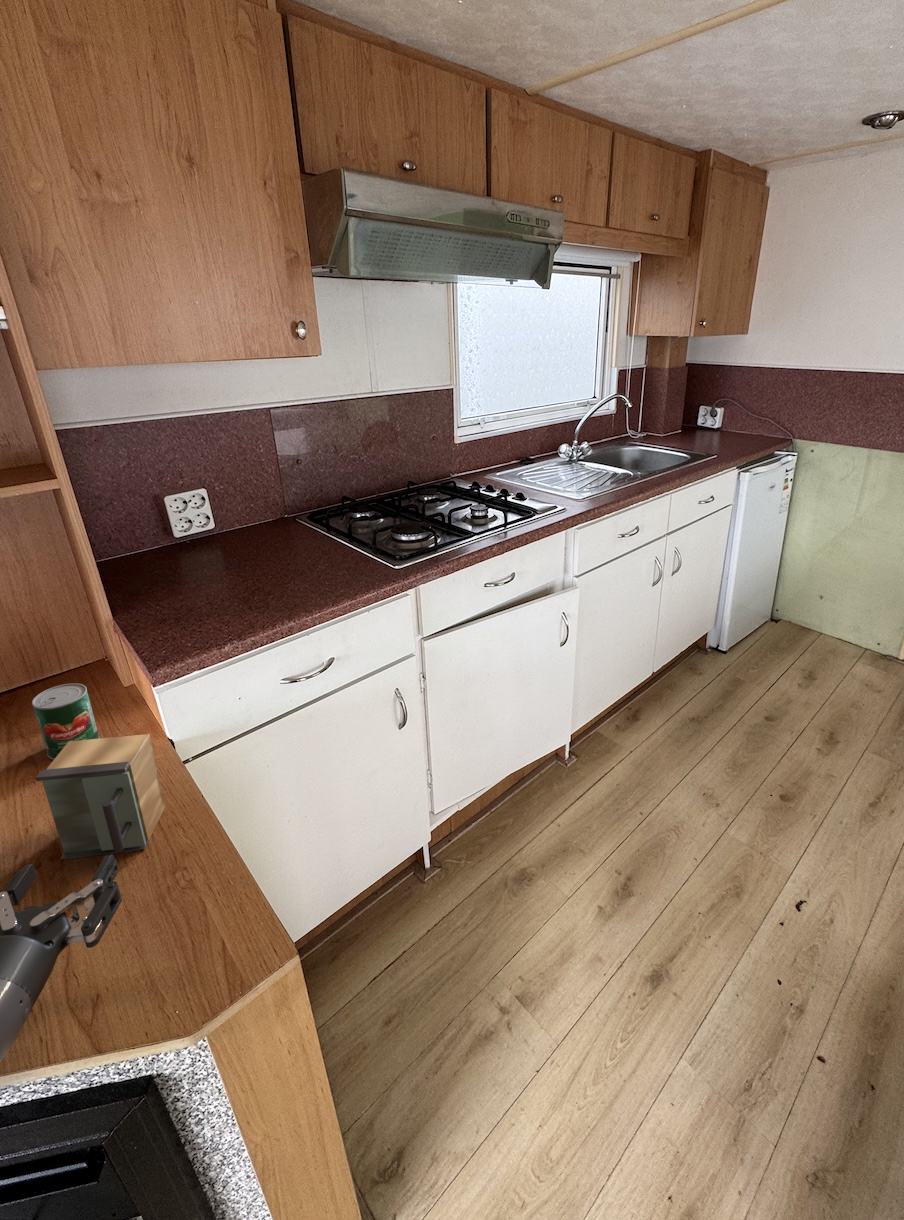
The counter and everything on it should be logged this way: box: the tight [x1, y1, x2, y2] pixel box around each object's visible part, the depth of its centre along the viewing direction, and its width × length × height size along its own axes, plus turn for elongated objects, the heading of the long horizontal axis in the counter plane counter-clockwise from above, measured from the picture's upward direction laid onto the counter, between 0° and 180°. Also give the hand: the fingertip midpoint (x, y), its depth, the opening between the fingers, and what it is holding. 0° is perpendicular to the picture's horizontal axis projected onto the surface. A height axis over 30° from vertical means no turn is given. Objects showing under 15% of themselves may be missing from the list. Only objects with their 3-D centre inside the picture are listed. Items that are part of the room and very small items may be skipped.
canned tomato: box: [31, 682, 101, 760], centre depth 104 cm, size 8×8×11 cm
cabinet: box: [35, 733, 166, 861], centre depth 85 cm, size 11×9×15 cm
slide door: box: [82, 772, 146, 852], centre depth 80 cm, size 6×5×13 cm
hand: (71, 865), depth 68 cm, fingers open, 8 cm apart
